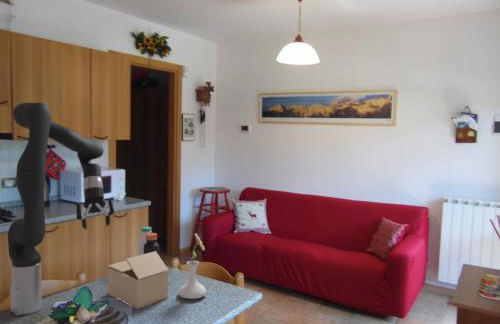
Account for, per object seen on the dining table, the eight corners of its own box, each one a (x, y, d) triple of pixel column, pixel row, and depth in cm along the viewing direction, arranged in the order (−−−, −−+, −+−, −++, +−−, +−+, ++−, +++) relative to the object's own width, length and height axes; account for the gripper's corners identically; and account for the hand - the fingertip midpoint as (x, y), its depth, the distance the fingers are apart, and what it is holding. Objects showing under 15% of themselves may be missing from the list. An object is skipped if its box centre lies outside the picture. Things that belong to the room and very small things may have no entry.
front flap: (138, 279, 148) (139, 278, 148) (125, 259, 153) (126, 258, 152) (167, 270, 158) (168, 269, 158) (155, 252, 163) (155, 251, 163)
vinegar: (160, 275, 184) (161, 232, 183) (155, 281, 177) (156, 236, 176) (146, 274, 185) (146, 232, 183) (141, 280, 178) (141, 235, 176)
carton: (137, 309, 149) (137, 280, 148) (108, 294, 161) (108, 267, 161) (167, 298, 159) (167, 271, 159) (137, 285, 172) (138, 259, 171)
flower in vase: (201, 303, 156) (202, 239, 154) (173, 300, 158) (174, 237, 156) (211, 290, 168) (212, 231, 166) (185, 287, 171) (186, 229, 169)
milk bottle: (144, 272, 188) (145, 230, 186) (134, 268, 192) (134, 227, 191) (157, 268, 194) (158, 227, 192) (147, 264, 199) (147, 224, 197)
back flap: (122, 272, 155) (122, 271, 154) (108, 266, 161) (108, 265, 161) (151, 264, 165) (151, 263, 165) (137, 259, 171) (137, 257, 171)
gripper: (72, 189, 162) (75, 229, 158) (109, 184, 164) (112, 223, 160) (78, 193, 169) (81, 231, 165) (113, 188, 171) (116, 225, 167)
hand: (96, 227), depth 162 cm, fingers open, 8 cm apart
